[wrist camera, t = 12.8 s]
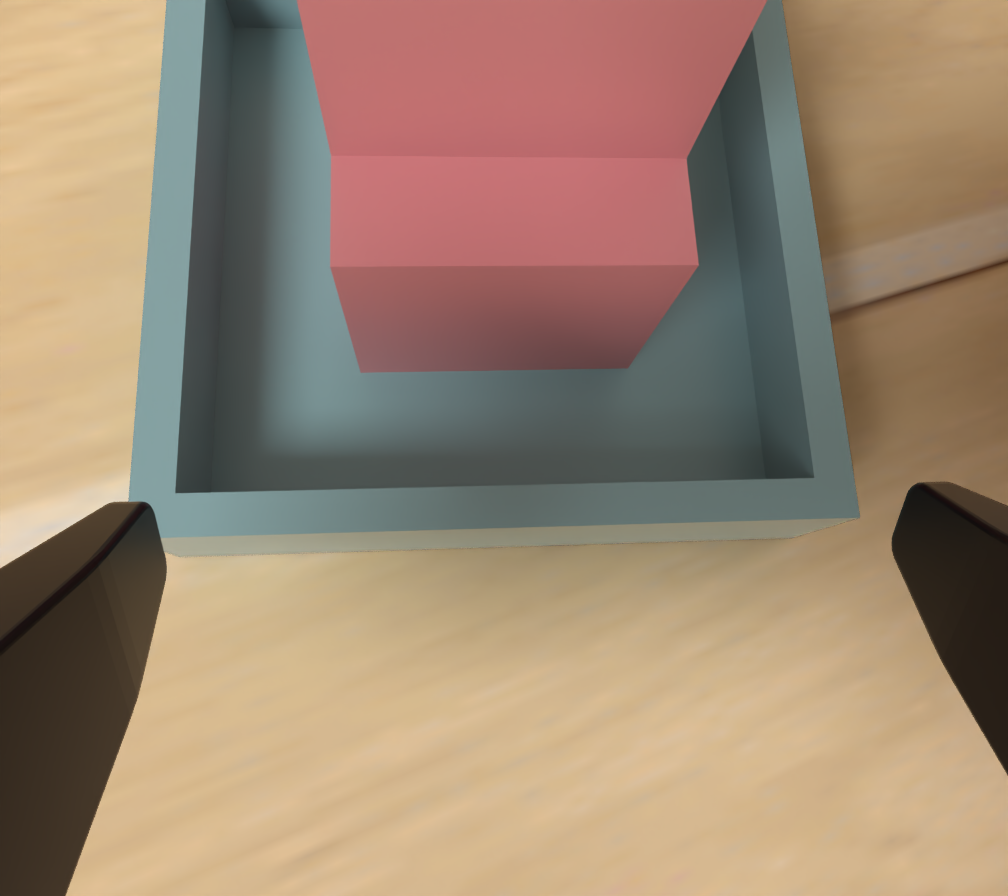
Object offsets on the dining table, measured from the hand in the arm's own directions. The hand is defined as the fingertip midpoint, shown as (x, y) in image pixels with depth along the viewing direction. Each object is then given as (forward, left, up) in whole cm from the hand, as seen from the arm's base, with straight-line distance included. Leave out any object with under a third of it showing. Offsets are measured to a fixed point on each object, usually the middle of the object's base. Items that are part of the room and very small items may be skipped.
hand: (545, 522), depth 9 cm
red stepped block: (+7, -3, -7) cm, 11 cm away
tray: (+7, -3, -8) cm, 11 cm away
